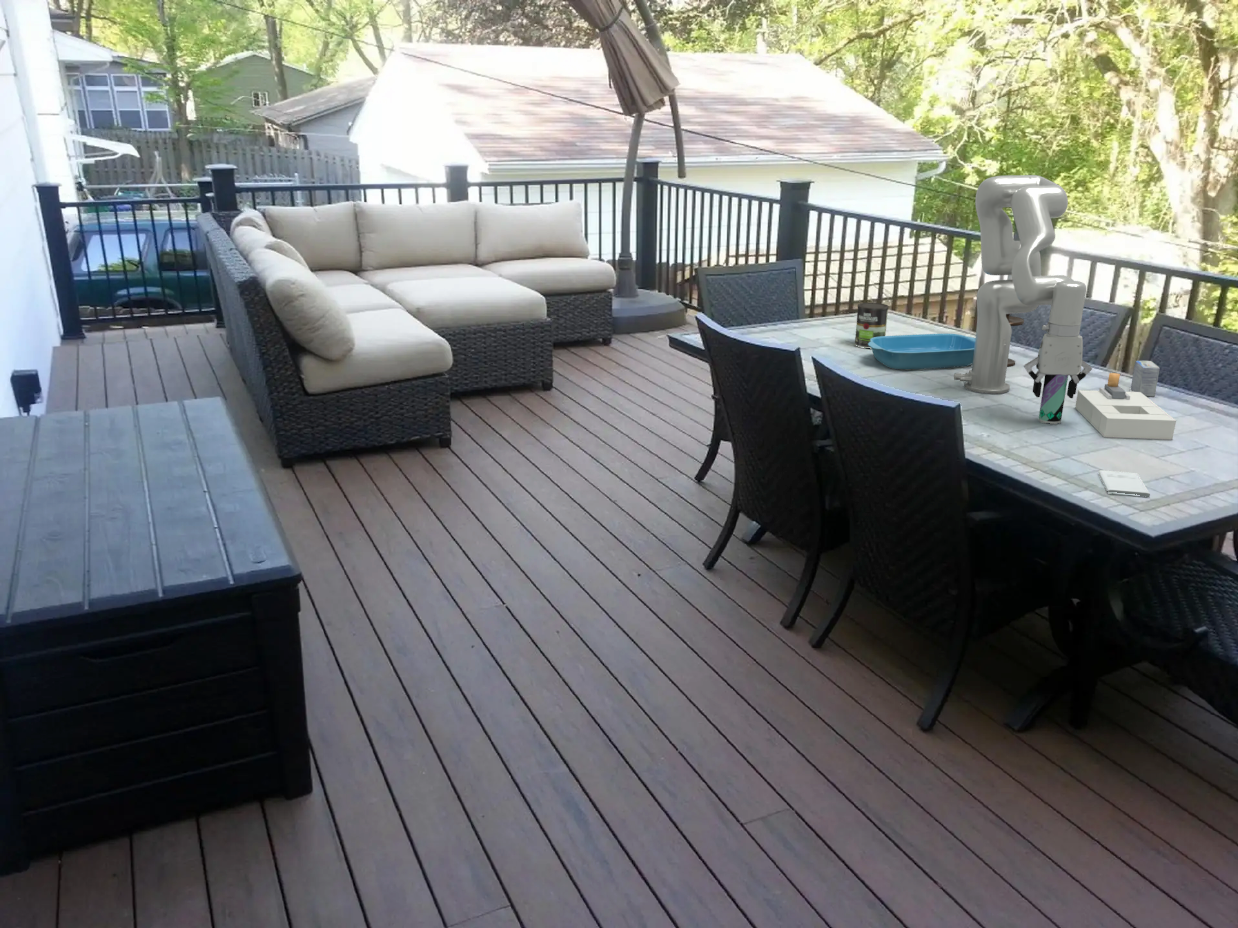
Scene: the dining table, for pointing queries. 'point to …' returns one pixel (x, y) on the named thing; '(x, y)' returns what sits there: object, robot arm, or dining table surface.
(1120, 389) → the bar
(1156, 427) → the block
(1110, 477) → the external hard drive
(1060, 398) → the spray can
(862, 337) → the coffee can
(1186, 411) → the dining table surface
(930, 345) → the casserole dish
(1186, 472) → the dining table surface
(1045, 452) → the dining table surface
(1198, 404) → the dining table surface
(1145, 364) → the medicine box
